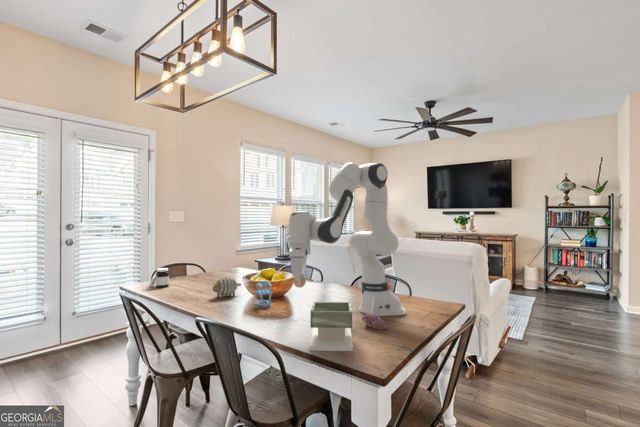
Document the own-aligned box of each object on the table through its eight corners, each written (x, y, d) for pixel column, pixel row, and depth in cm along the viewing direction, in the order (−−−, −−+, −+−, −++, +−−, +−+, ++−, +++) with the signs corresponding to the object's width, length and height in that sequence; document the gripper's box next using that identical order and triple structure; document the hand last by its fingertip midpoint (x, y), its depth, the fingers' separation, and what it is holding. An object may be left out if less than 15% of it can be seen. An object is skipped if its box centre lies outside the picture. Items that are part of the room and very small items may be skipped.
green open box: (315, 308, 145) (315, 294, 145) (348, 308, 144) (348, 295, 145) (310, 328, 116) (310, 311, 116) (352, 328, 115) (352, 312, 115)
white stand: (315, 320, 147) (315, 301, 147) (349, 321, 147) (349, 301, 147) (309, 350, 115) (309, 326, 115) (352, 351, 115) (352, 326, 115)
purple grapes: (363, 328, 141) (359, 315, 139) (369, 321, 144) (364, 309, 142) (383, 334, 134) (378, 321, 132) (388, 327, 137) (384, 313, 135)
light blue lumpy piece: (260, 308, 167) (260, 284, 167) (253, 304, 174) (253, 281, 174) (274, 305, 172) (274, 282, 171) (267, 302, 178) (267, 279, 178)
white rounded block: (169, 287, 214) (169, 269, 214) (150, 289, 208) (150, 270, 208) (167, 283, 224) (167, 266, 224) (149, 285, 219) (149, 268, 219)
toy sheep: (208, 297, 188) (208, 277, 188) (235, 292, 200) (235, 274, 200) (217, 301, 181) (217, 280, 180) (244, 295, 192) (244, 276, 192)
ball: (306, 286, 138) (306, 274, 138) (305, 288, 133) (305, 276, 133) (294, 286, 139) (294, 274, 139) (292, 288, 134) (292, 276, 134)
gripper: (295, 247, 146) (295, 278, 146) (288, 252, 126) (288, 289, 126) (309, 247, 146) (309, 278, 146) (304, 252, 126) (304, 289, 126)
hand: (299, 283), depth 136 cm, fingers closed on ball, 5 cm apart
